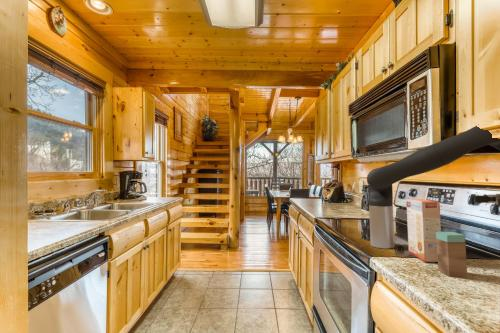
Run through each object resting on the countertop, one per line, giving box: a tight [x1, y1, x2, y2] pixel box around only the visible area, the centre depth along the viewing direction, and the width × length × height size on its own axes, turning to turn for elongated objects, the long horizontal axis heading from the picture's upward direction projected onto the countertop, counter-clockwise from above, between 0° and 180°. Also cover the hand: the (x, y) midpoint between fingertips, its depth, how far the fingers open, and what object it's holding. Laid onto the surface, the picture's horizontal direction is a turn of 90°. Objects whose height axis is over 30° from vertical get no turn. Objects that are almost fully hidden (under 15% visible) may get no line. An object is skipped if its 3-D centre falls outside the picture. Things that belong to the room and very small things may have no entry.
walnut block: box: [436, 231, 468, 278], centre depth 79 cm, size 5×5×12 cm
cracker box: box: [406, 198, 442, 263], centre depth 96 cm, size 14×6×21 cm, turn 168°
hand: (486, 200), depth 79 cm, fingers open, 8 cm apart
